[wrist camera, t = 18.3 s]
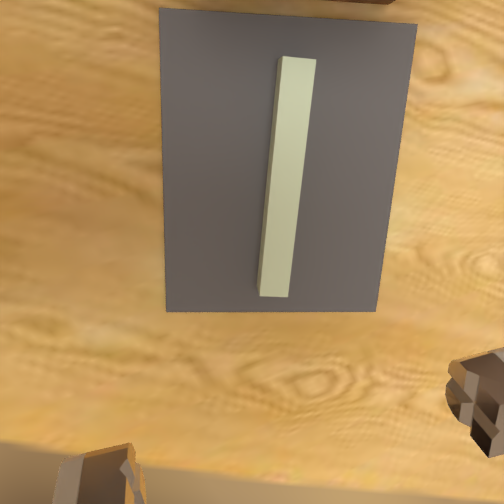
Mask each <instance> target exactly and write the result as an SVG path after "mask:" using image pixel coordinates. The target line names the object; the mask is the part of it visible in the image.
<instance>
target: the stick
mask: <svg viewBox="0 0 504 504" xmlns="http://www.w3.org/2000/svg"><path fill="white" fill-rule="evenodd" d="M315 67H316V59H307V58H297V57H287V56H282V57H281V58H279V59H278V65H277V76H276V86H275V97H274V107H273V118H272V129H271V139H270V150H269V160H268V171H267V182H266V192H265V203H264V213H263V224H262V234H261V245H260V256H259V266H258V277H257V288H258V292H259V296H268V297H288V292H289V283H290V275H291V267H292V258H293V250H294V242H295V233H296V225H297V217H298V208H299V200H300V192H301V183H302V175H303V167H304V158H305V150H306V142H307V133H308V125H309V117H310V108H311V100H312V92H313V84H314V75H315Z"/></svg>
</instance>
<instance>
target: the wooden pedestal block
mask: <svg viewBox="0 0 504 504" xmlns="http://www.w3.org/2000/svg"><path fill="white" fill-rule="evenodd" d="M328 1H343V2H358V3H373V4H387V5H388V4H390V3H392V2H393V1H395V0H328Z"/></svg>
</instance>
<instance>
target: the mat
mask: <svg viewBox="0 0 504 504" xmlns="http://www.w3.org/2000/svg"><path fill="white" fill-rule="evenodd" d="M417 25H418V24H406V23H391V22H375V21H359V20H344V19H328V18H312V17H297V16H281V15H265V14H250V13H234V12H218V11H202V10H187V9H171V8H159V31H160V72H161V114H162V155H163V197H164V238H165V279H166V312H376V306H377V299H378V292H379V286H380V279H381V272H382V265H383V258H384V251H385V244H386V238H387V231H388V224H389V217H390V210H391V203H392V197H393V190H394V183H395V176H396V169H397V162H398V155H399V149H400V142H401V135H402V128H403V121H404V114H405V107H406V101H407V94H408V87H409V80H410V73H411V66H412V60H413V53H414V46H415V39H416V32H417ZM282 56H287V57H297V58H307V59H316V67H315V75H314V84H313V92H312V100H311V108H310V117H309V125H308V133H307V142H306V150H305V158H304V167H303V175H302V183H301V192H300V200H299V208H298V217H297V225H296V233H295V242H294V250H293V258H292V267H291V275H290V283H289V292H288V297H268V296H259V292H258V288H257V277H258V266H259V256H260V245H261V234H262V224H263V213H264V203H265V192H266V182H267V171H268V160H269V150H270V139H271V129H272V118H273V107H274V97H275V86H276V76H277V65H278V59H279V58H281V57H282Z"/></svg>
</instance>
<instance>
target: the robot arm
mask: <svg viewBox="0 0 504 504" xmlns="http://www.w3.org/2000/svg"><path fill="white" fill-rule="evenodd" d="M448 373H449V374H450V375H451V376H452V378H451V379H450V381H449V382H448V383H447V384H446V393H445V395H446V399H447V403H448V406H449V408H450V409H451V411H452V413H453V414H454V416H455V417H456V418H457V420H458V421H459V422H461V423H463V424H465V425H467V426H469V427H470V436H471V437H472V439H473V440H474V441H475V442H476V443H477V445H478V446H479V447H480V448H481V450H482V451H483V452H484V453H485V455H486V456H487V457H488V458H491V457H495V456H499V455H503V454H504V347H502V348H499V349H495V350H491V351H488V352H482V353H478V354H475V355H471V356H467V357H463V358H460V359H456V360H452V361H451V363H450V364H449V368H448ZM135 453H136V452H135V450H134V447H133V445H132V443H126V444H122V445H118V446H113V447H109V448H104V449H100V450H95V451H91V452H87V453H83V454H79V455H75V456H71V457H66V458H64V459H63V461H62V463H61V465H60V468H59V473H58V477H57V482H56V487H55V492H54V497H53V502H52V504H146V490H145V480H144V476H143V472H142V469H141V466H140V464H138V463H136V462H135Z"/></svg>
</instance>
